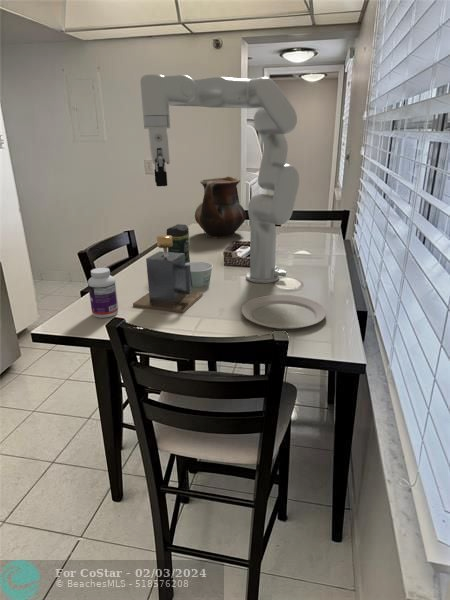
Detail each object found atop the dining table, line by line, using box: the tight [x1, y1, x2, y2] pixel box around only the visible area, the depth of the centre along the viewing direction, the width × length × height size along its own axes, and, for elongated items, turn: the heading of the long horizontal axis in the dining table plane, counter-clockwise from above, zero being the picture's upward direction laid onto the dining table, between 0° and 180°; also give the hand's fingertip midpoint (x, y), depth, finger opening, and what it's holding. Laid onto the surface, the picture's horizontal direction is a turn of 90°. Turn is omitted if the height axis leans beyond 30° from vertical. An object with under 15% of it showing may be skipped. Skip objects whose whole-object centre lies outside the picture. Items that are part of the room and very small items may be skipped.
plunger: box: [156, 234, 173, 257], centre depth 138 cm, size 6×6×20 cm
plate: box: [240, 294, 327, 330], centre depth 130 cm, size 26×26×2 cm
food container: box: [185, 261, 214, 288], centre depth 158 cm, size 12×12×6 cm
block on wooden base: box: [132, 250, 204, 314], centre depth 140 cm, size 18×16×16 cm
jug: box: [194, 175, 247, 239], centre depth 227 cm, size 32×28×30 cm
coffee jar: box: [165, 223, 191, 264], centre depth 171 cm, size 10×8×19 cm
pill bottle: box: [87, 267, 119, 319], centre depth 130 cm, size 8×8×14 cm
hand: (161, 184), depth 129 cm, fingers open, 9 cm apart
